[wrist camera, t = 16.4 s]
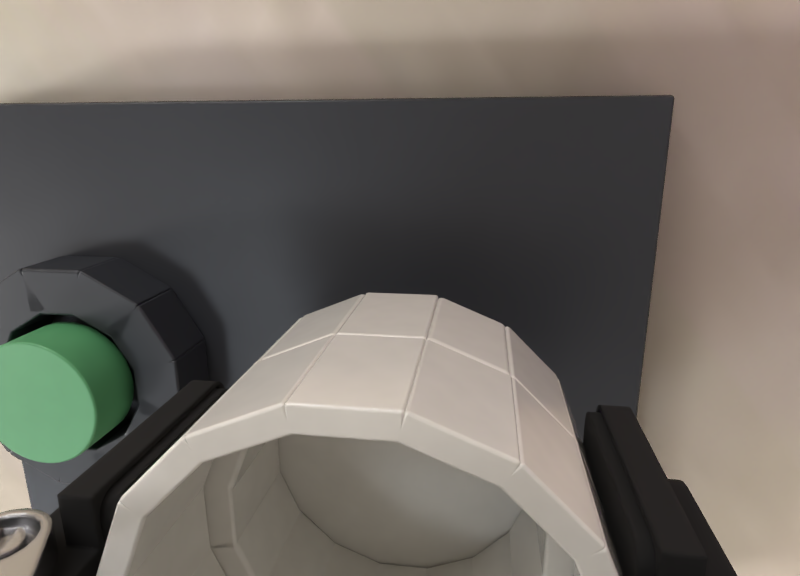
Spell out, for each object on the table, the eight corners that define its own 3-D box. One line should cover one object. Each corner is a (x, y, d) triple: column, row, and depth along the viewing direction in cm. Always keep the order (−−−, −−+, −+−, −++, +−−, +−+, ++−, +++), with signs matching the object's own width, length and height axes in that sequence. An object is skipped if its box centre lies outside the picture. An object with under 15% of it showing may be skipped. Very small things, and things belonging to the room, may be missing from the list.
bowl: (260, 563, 13) (133, 808, 8) (237, 280, 11) (58, 387, 7) (562, 595, 12) (611, 893, 7) (589, 292, 10) (676, 428, 6)
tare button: (34, 428, 16) (-12, 459, 14) (13, 318, 15) (-39, 339, 13) (142, 436, 15) (105, 469, 14) (125, 323, 14) (84, 345, 13)
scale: (69, 525, 20) (-1, 591, 17) (-9, 106, 16) (-116, 100, 13) (603, 579, 17) (627, 667, 15) (657, 98, 14) (702, 90, 11)
